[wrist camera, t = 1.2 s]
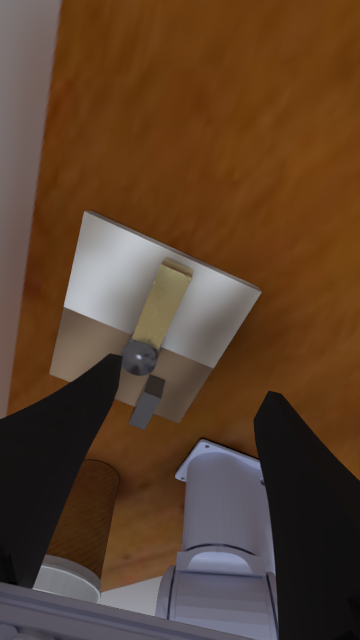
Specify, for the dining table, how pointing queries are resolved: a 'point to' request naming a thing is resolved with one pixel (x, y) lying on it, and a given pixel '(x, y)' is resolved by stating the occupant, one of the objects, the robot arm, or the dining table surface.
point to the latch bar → (156, 318)
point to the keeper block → (147, 402)
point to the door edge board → (127, 305)
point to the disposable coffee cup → (81, 536)
